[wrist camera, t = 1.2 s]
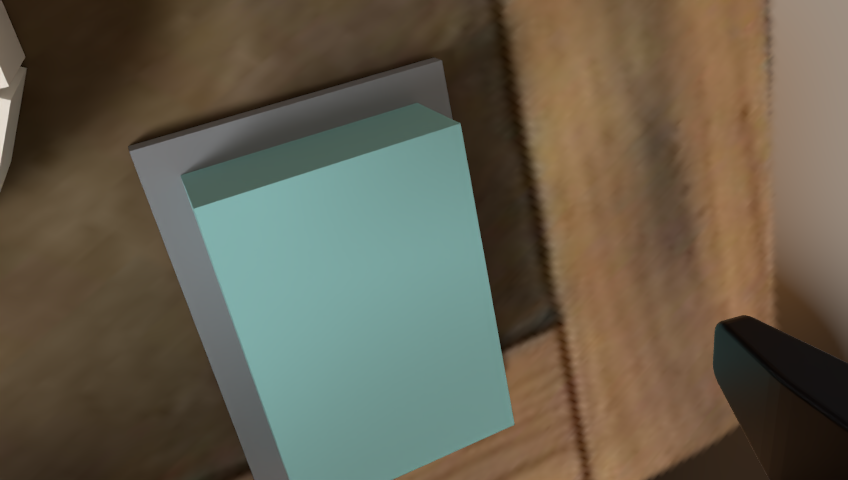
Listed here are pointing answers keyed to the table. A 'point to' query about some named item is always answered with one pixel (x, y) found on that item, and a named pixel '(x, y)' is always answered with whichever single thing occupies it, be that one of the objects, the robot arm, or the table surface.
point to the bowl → (9, 89)
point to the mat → (183, 238)
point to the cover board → (359, 293)
